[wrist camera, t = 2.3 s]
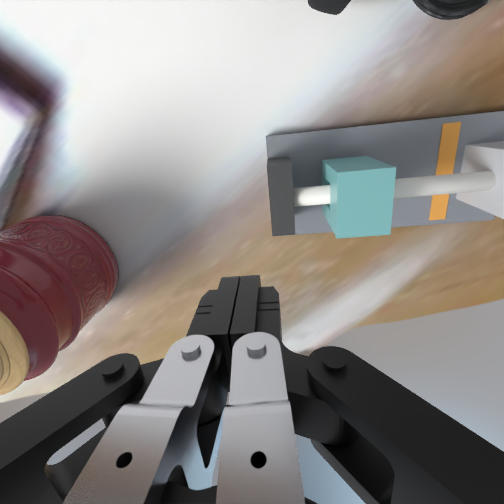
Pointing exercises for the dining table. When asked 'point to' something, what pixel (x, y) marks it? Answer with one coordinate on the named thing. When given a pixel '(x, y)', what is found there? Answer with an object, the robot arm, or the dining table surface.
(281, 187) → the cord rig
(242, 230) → the dining table surface
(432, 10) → the milk frother
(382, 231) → the sleeve
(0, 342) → the canister
